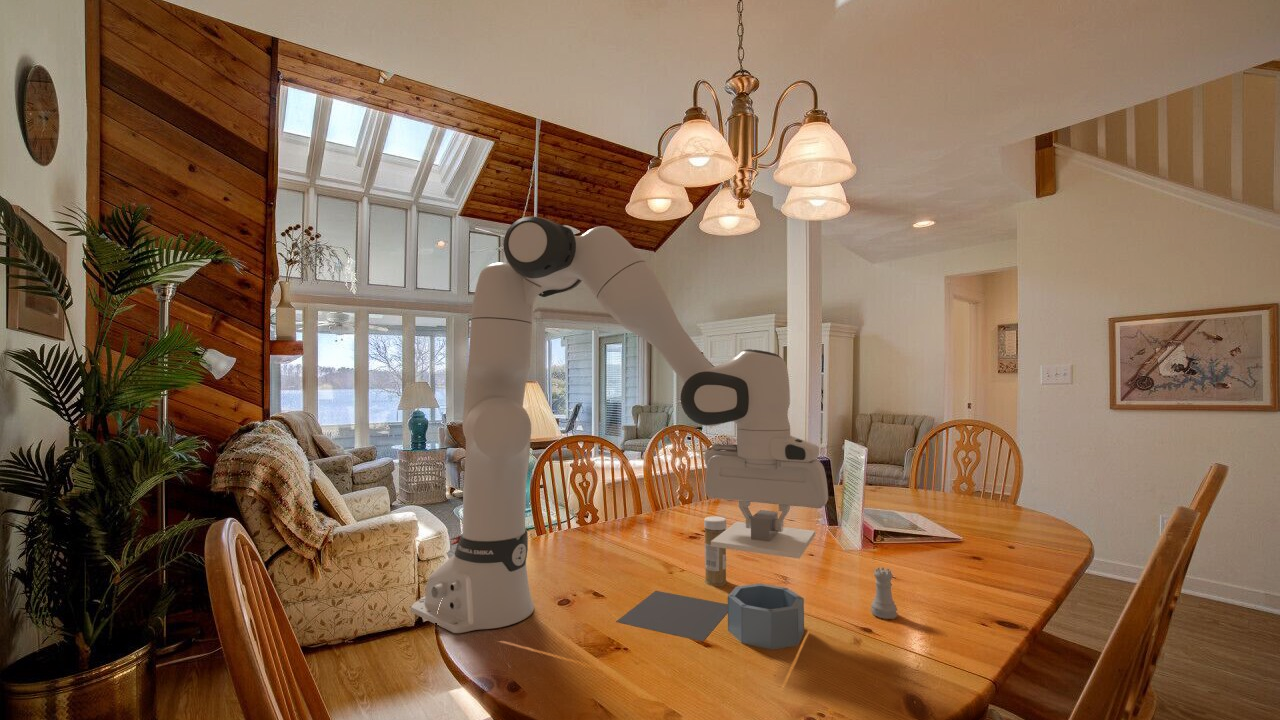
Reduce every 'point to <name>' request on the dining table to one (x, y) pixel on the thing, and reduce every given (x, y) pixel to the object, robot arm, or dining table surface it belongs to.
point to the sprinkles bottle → (714, 552)
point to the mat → (676, 615)
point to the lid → (765, 537)
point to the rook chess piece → (883, 595)
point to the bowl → (766, 616)
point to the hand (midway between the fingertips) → (764, 529)
